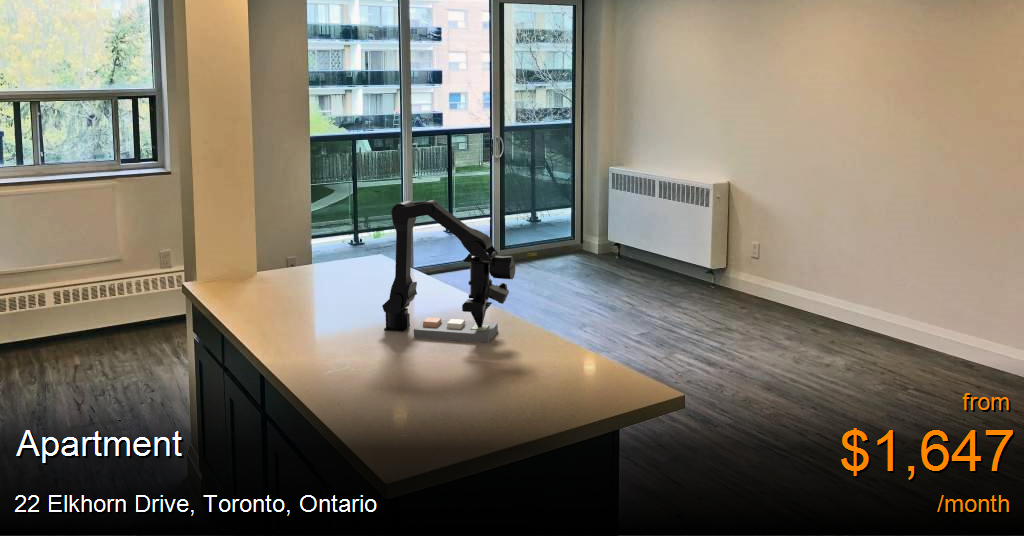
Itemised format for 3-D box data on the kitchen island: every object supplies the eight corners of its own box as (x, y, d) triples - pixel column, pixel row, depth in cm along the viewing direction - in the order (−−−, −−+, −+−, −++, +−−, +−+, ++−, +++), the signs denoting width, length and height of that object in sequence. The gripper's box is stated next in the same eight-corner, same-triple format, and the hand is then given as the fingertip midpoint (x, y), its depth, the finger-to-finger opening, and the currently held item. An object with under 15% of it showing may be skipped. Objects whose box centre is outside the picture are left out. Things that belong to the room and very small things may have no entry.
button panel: (413, 337, 283) (413, 329, 283) (425, 325, 295) (425, 318, 294) (488, 342, 279) (488, 334, 278) (497, 330, 290) (497, 323, 289)
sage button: (471, 336, 283) (471, 328, 283) (474, 332, 288) (474, 324, 287) (485, 337, 283) (485, 329, 282) (489, 333, 287) (489, 325, 286)
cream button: (447, 331, 285) (447, 323, 284) (451, 326, 289) (451, 318, 288) (461, 331, 284) (461, 324, 283) (465, 327, 288) (465, 319, 287)
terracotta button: (423, 329, 286) (423, 321, 286) (427, 325, 290) (427, 317, 290) (437, 330, 285) (437, 322, 285) (441, 326, 290) (441, 318, 289)
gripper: (499, 286, 270) (499, 338, 274) (513, 271, 288) (512, 320, 292) (461, 283, 273) (461, 335, 276) (477, 269, 290) (477, 317, 294)
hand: (480, 327), depth 285 cm, fingers closed, pressing on sage button
